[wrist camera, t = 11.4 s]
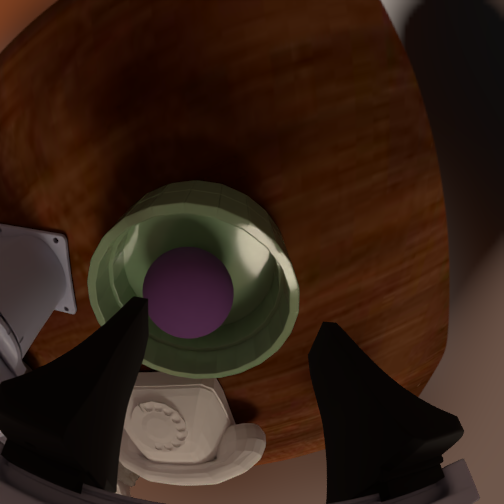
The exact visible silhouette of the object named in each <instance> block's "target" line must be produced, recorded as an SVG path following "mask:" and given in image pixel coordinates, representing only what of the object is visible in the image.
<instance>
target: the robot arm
mask: <svg viewBox="0 0 504 504" xmlns="http://www.w3.org/2000/svg"><path fill="white" fill-rule="evenodd" d="M56 238H57V239H58V241H57V240H56ZM54 309H55V310H58V311H62V312H66V313H70V314H75V312H76V311H77V308H76V302H75V297H74V291H73V284H72V277H71V270H70V262H69V253H68V243H67V238H66V236H65V235H63V234H59V233H53V232H47V231H41V230H35V229H29V228H23V227H17V226H11V225H6V224H0V437H2V436H5V437H6V438H7V440H6V442H5V445H4V444H3V443H2V442H1V441H0V504H164V503H158V502H152V501H147V500H142V499H137V498H133V497H129V496H124V495H120V494H117V493H116V492H117V476H118V464H119V455H120V447H121V440H122V434H123V428H124V422H125V417H126V412H127V407H128V403H129V400H130V397H131V394H132V391H133V388H134V385H135V382H136V379H137V376H138V373H139V370H140V367H141V364H142V362H143V359H144V355H145V351H146V346H147V342H148V337H149V325H148V299H147V298H141V297H136V296H133V297H132V298H131V299H130V300H129V301H128V302H127V303H126V304H125V305H124V306H123V307H122V308H121V309H120V310H119V311H118V312H117V313H115V314H114V315H113V316H112V317H111V318H110V319H109V320H108V321H107V322H106V323H105V324H104V325H102V326H101V327H100V328H99V329H98V330H97V331H95V332H94V333H93V334H92V335H91V336H89V337H88V338H87V339H86V340H84V341H83V342H82V343H80V344H79V345H78V346H76V347H75V348H73V349H72V350H70V351H69V352H67V353H66V354H64V355H62V356H61V357H59V358H57V359H55V360H53V361H52V362H50V363H48V364H46V365H44V366H42V367H40V368H38V369H35V370H33V371H31V372H28V373H26V374H24V373H25V371H26V367H25V366H24V364H23V362H22V359H23V357H24V355H25V354H26V352H27V350H28V349H29V347H30V346H31V344H32V342H33V341H34V339H35V338H36V336H37V334H38V333H39V331H40V330H41V328H42V327H43V325H44V324H45V322H46V321H47V319H48V318H49V316H50V315H51V313H52V312H53V311H54ZM308 359H309V368H310V376H311V380H312V384H313V388H314V391H315V395H316V399H317V403H318V407H319V410H320V414H321V418H322V423H323V430H324V438H325V448H326V460H327V500H326V504H473V503H475V502H476V501H478V500H479V499H480V497H479V494H478V491H477V489H476V486H475V484H474V481H473V479H472V476H471V474H470V471H469V469H468V467H467V464H466V462H465V460H464V459H461V460H458V461H456V462H454V463H452V464H450V465H447V466H445V467H444V468H441V465H440V463H442V462H443V457H442V454H443V453H444V452H446V451H447V450H448V449H449V448H451V447H452V446H453V445H454V444H455V443H456V442H457V441H458V440H459V439H460V438H461V437H462V436H463V433H464V430H463V428H462V426H461V424H460V421H459V419H458V417H457V416H455V415H453V414H450V413H448V412H445V411H443V410H441V409H439V408H436V407H435V406H432V405H430V404H429V403H427V402H425V401H423V400H422V399H420V398H418V397H417V396H415V395H414V394H412V393H411V392H409V391H408V390H406V389H405V388H403V387H402V386H401V385H399V384H398V383H397V382H396V381H394V380H393V379H392V378H391V377H389V376H388V375H387V374H386V373H385V372H384V371H383V370H382V369H380V368H379V367H378V366H377V365H376V364H375V363H374V362H373V361H372V360H371V359H370V358H369V357H368V356H367V355H366V354H365V353H364V352H363V351H362V350H361V349H360V348H359V346H358V345H357V344H356V343H355V342H354V341H353V340H352V339H351V338H350V337H349V336H348V335H347V333H346V332H345V331H344V330H343V329H342V328H341V327H340V326H339V325H338V324H337V323H333V322H323V323H322V325H321V328H320V330H319V332H318V335H317V337H316V339H315V341H314V343H313V346H312V348H311V350H310V352H309V354H308Z"/></svg>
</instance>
